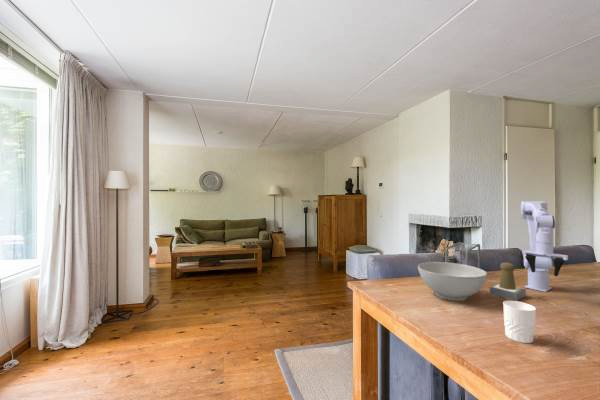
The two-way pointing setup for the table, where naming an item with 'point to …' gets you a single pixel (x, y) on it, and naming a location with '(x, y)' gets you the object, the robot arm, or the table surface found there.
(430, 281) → the decorative bowl
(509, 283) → the cork
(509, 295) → the plinth
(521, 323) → the white cup
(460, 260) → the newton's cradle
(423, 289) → the table surface
